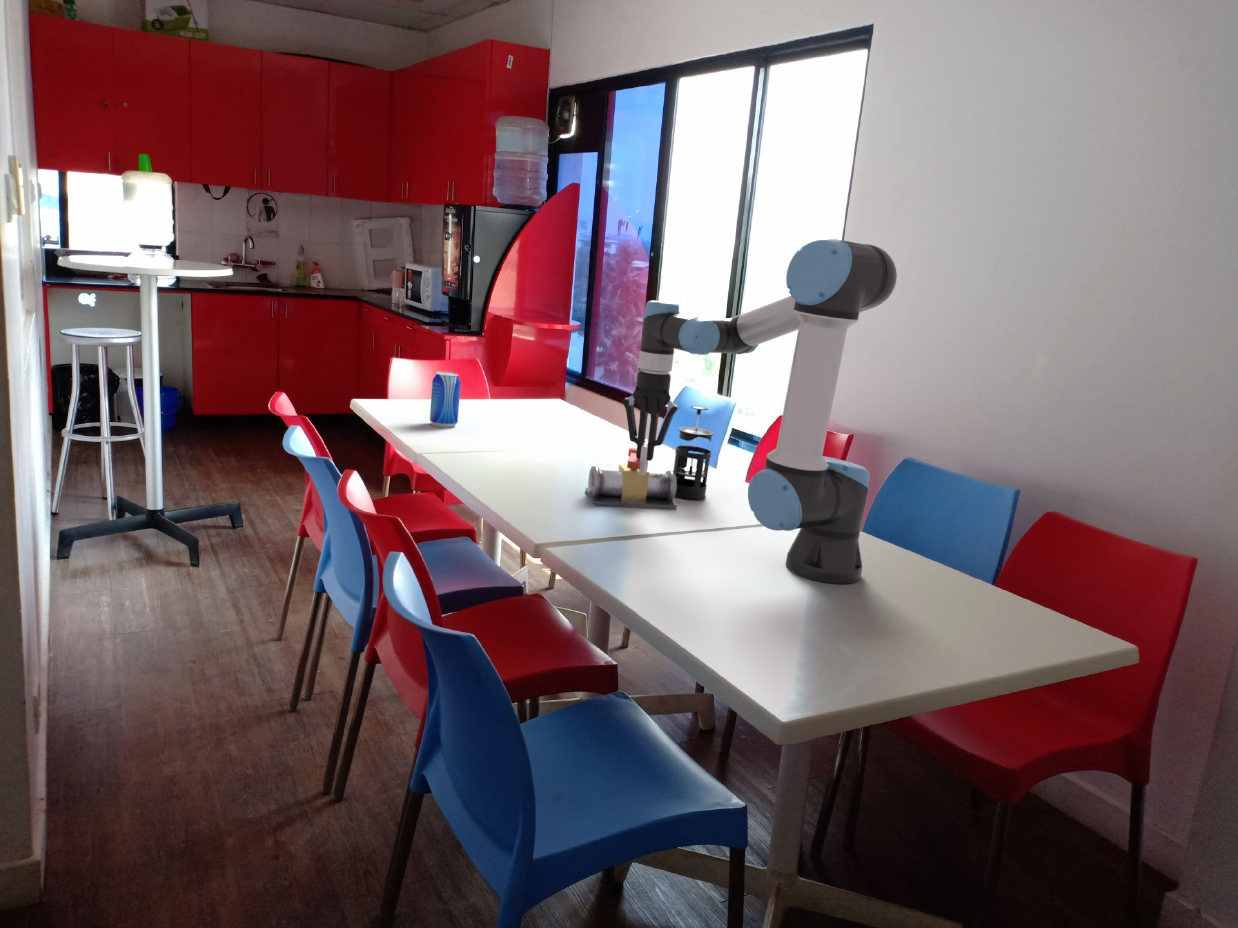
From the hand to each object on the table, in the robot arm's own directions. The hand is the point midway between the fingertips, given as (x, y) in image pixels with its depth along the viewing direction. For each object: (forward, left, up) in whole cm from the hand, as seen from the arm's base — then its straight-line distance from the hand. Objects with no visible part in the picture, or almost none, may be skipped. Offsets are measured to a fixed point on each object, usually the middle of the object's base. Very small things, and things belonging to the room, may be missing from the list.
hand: (642, 473), depth 212 cm
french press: (+18, -17, -10) cm, 27 cm away
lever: (+5, +1, +1) cm, 5 cm away
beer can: (+84, +41, -10) cm, 94 cm away
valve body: (+11, -1, -10) cm, 14 cm away
